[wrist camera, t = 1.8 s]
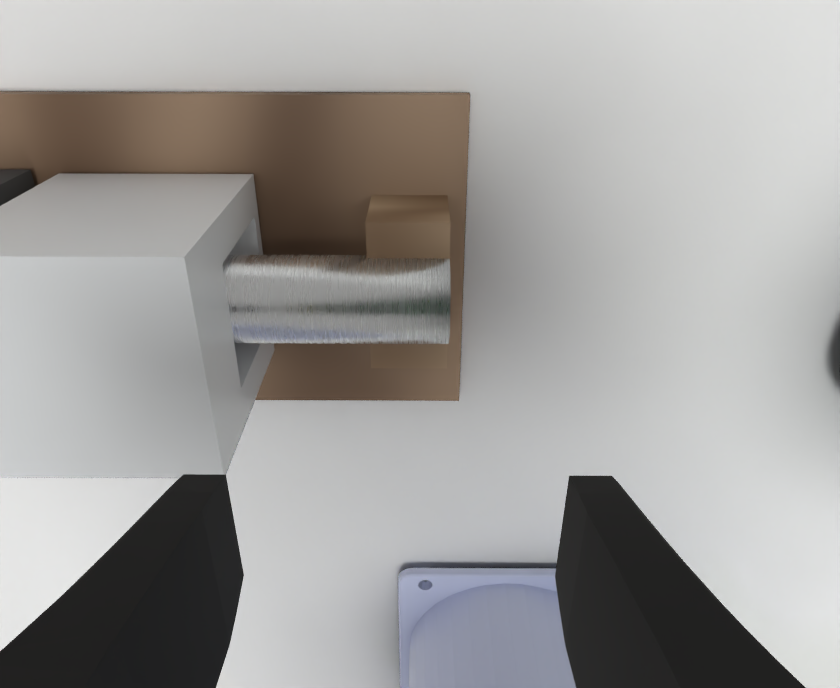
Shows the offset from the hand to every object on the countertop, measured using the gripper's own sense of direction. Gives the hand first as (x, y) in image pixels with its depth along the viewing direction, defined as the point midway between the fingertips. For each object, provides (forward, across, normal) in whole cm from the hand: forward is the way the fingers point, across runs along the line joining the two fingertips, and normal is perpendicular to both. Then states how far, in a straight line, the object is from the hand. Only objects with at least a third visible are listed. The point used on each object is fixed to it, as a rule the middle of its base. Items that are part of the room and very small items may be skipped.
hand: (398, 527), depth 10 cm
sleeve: (+10, +6, 0) cm, 12 cm away
